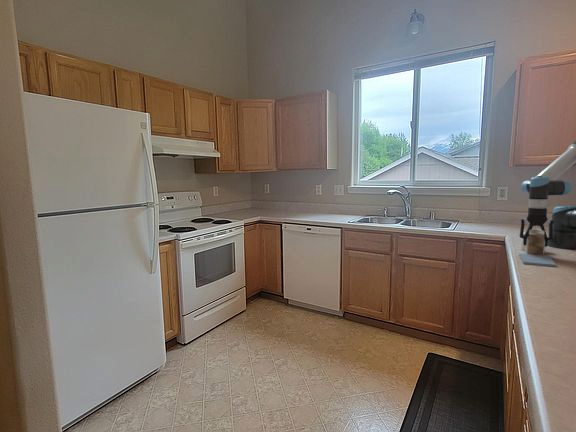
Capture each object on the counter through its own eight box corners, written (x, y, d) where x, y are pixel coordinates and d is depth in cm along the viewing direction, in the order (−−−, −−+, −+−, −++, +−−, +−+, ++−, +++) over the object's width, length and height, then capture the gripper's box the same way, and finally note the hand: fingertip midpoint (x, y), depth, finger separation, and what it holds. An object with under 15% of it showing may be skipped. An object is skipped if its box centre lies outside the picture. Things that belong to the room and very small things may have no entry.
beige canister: (540, 254, 167) (542, 229, 166) (542, 256, 162) (544, 231, 160) (526, 252, 170) (528, 228, 169) (528, 255, 165) (529, 230, 164)
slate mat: (548, 257, 159) (548, 255, 159) (556, 266, 144) (556, 264, 144) (518, 255, 165) (519, 253, 165) (523, 263, 150) (523, 261, 150)
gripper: (515, 207, 165) (512, 251, 167) (563, 208, 155) (559, 255, 158) (514, 206, 171) (511, 248, 174) (560, 207, 162) (556, 252, 164)
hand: (534, 252), depth 166 cm, fingers closed on beige canister, 6 cm apart
